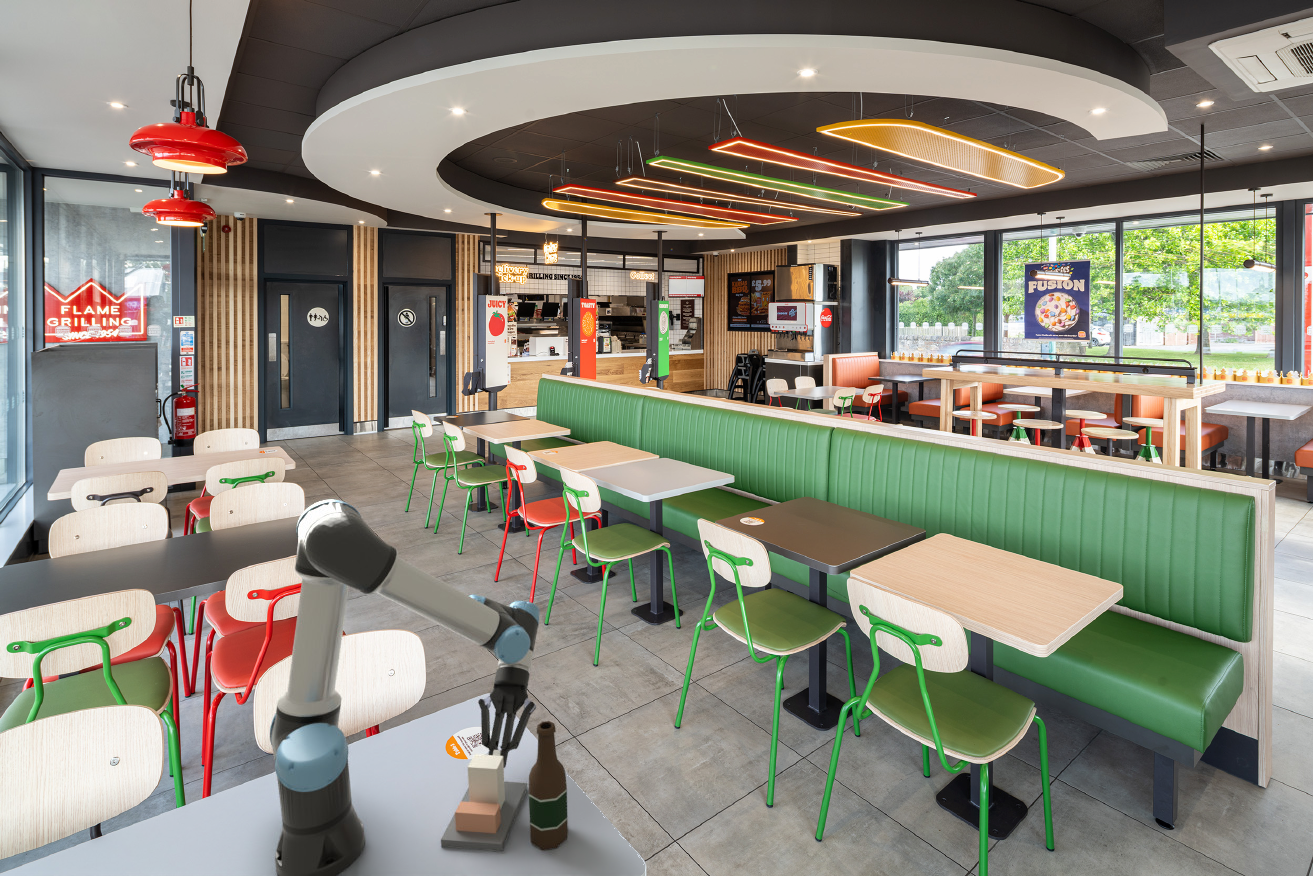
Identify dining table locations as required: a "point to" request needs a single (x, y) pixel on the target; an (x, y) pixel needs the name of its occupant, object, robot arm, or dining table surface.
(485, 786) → the cream tall block
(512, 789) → the base
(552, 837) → the beer bottle
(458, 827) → the peach rectangular block
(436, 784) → the dining table surface
